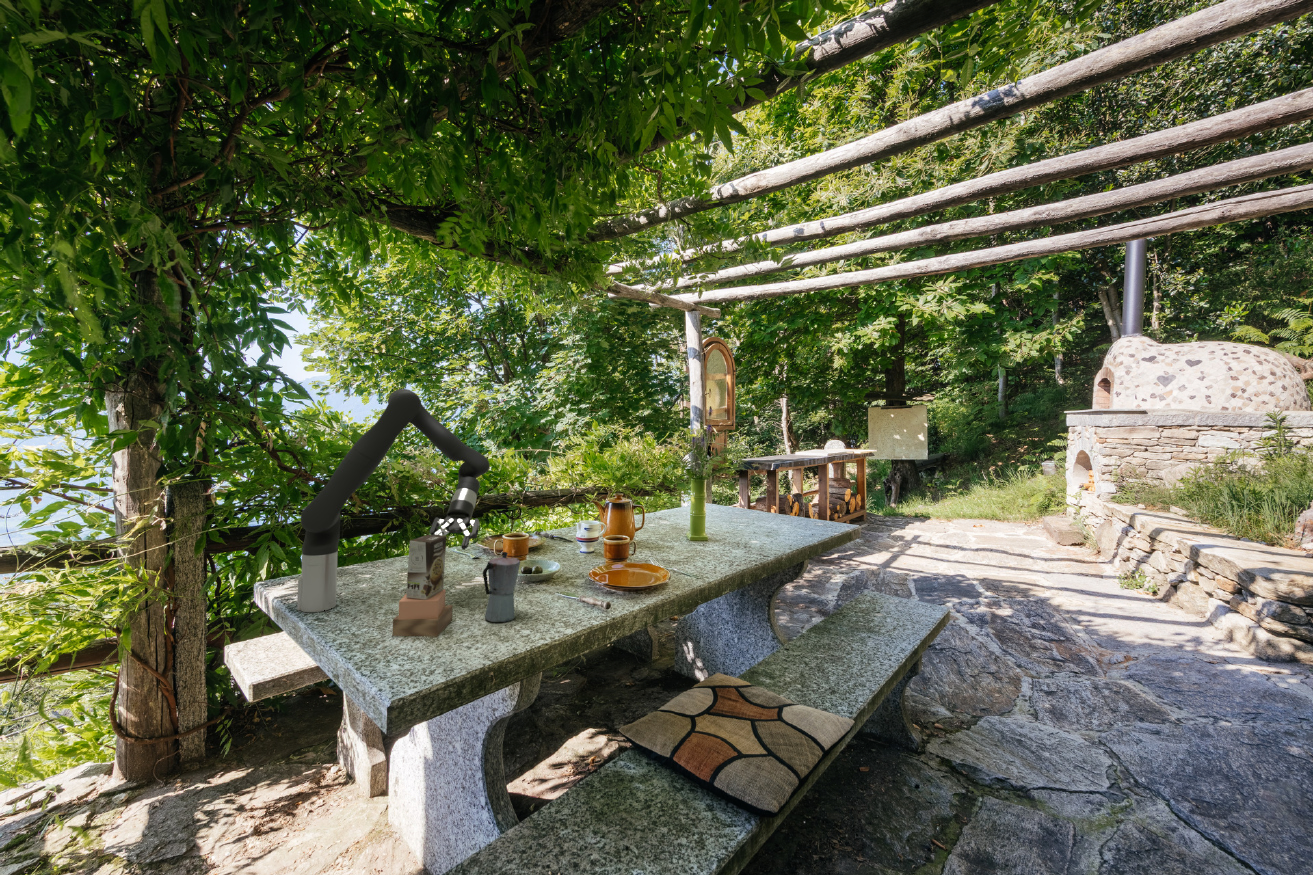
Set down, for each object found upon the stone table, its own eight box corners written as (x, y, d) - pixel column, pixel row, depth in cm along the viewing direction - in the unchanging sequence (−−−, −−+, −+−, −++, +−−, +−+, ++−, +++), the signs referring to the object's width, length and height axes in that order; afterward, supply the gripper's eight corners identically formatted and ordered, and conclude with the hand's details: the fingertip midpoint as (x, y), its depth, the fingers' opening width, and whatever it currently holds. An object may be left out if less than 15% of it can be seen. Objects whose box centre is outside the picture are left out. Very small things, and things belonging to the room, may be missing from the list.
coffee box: (426, 600, 143) (430, 542, 143) (405, 597, 144) (408, 540, 144) (444, 590, 152) (447, 535, 152) (423, 588, 153) (426, 533, 153)
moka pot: (527, 612, 163) (529, 549, 163) (497, 630, 148) (499, 560, 148) (501, 608, 166) (503, 546, 166) (469, 624, 151) (471, 556, 151)
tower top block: (398, 619, 142) (399, 601, 142) (408, 607, 151) (409, 590, 151) (437, 618, 143) (437, 600, 143) (445, 606, 153) (445, 589, 153)
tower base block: (392, 637, 142) (392, 619, 142) (411, 621, 154) (411, 604, 154) (437, 638, 142) (437, 620, 142) (452, 622, 154) (452, 605, 154)
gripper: (437, 497, 168) (422, 540, 157) (482, 499, 169) (470, 542, 157) (443, 511, 173) (428, 554, 162) (486, 512, 174) (474, 555, 163)
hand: (449, 548), depth 160 cm, fingers open, 8 cm apart
